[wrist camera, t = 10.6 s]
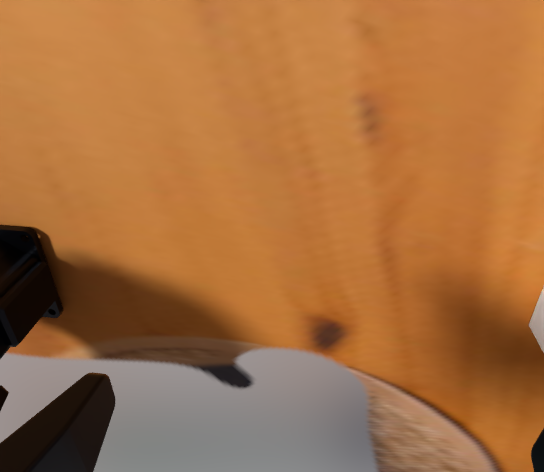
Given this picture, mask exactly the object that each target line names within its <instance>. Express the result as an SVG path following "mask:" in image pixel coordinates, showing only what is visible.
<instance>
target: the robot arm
mask: <svg viewBox="0 0 544 472" xmlns="http://www.w3.org/2000/svg"><path fill="white" fill-rule="evenodd" d="M26 236H27V237H26ZM62 312H63V307H62V305H61V302H60V299H59V296H58V293H57V290H56V287H55V284H54V281H53V279H52V276H51V273H50V270H49V267H48V264H47V261H46V258H45V255H44V253H43V250H42V247H41V244H40V241H39V238H38V235H37V234H36V232H35V231H34V230H32V229H31V228H27V227H16V226H4V225H0V359H1V358H2V356H3V355H4V354H5V353H6V352H7V350H8V349H9V348H10V347H16V346H17V345H18V344H19V343H20V342H21V341H22V340H23V339H24V338H25V336H26V335H27V334H28V333H29V331H30V330H31V329H32V328H33V327H34V325H35V324H36V323H37V322H38V321H39V319H40V318H41V317H50V318H57V317H59V316H60V314H61V313H62ZM7 396H8V391H7V390H6V389H5V388H3V386H0V411H1V408H2V406H3V404H4V402H5V400H6V398H7ZM114 407H115V396H114V392H113V389H112V385H111V382H110V379H109V377H108V376H107V375H106V374H100V373H88V374H86V375H85V376H83V377H82V378H81V379H80V380H78V381H77V382H76V383H75V384H73V385H72V386H71V387H70V388H68V389H67V390H66V391H65V392H63V393H62V394H61V395H60V396H58V397H57V398H56V399H55V400H53V401H52V402H51V403H50V404H49V405H47V406H46V407H45V408H44V409H43V410H41V411H40V412H39V413H37V414H36V415H35V416H34V417H32V418H31V419H30V420H29V421H27V422H26V423H25V424H24V425H22V426H21V427H20V428H19V429H17V430H16V431H15V432H14V433H13V434H11V435H10V436H9V437H8V438H6V439H5V440H4V441H3V442H1V443H0V472H93V471H94V468H95V465H96V462H97V458H98V456H99V453H100V450H101V447H102V444H103V441H104V438H105V435H106V432H107V428H108V426H109V423H110V420H111V416H112V414H113V410H114ZM531 458H532V463H533V468H534V472H544V429H543V430H542V432H541V434H540V435H539V437H538V439H537V440H536V442H535V444H534V445H533V447H532V451H531Z"/></svg>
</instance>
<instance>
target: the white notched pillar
mask: <svg viewBox="0 0 544 472" xmlns="http://www.w3.org/2000/svg"><path fill="white" fill-rule="evenodd" d="M529 327H530V328H531V330H532V332H533V334H534V336H535V338H536V340H537V342H538V344H539V345H540V347H541V349H542V351H543V353H544V287H543V289H542V292H541V294H540V297H539V299H538V302H537V305H536V307H535V310H534V312H533V315H532V317H531V320H530V323H529Z"/></svg>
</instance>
